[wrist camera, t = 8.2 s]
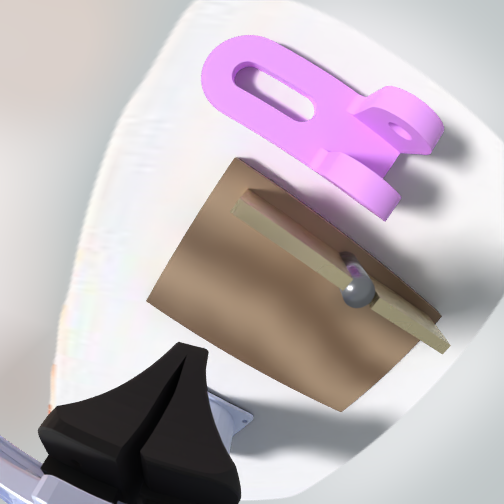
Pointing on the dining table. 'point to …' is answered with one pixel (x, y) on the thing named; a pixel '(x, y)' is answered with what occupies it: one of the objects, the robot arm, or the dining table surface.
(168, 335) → the dining table surface
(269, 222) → the fixed leaf
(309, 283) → the walnut board
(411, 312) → the swing leaf
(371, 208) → the bracket
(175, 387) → the robot arm
